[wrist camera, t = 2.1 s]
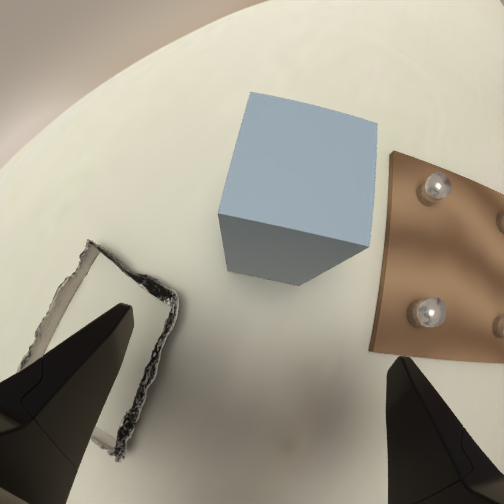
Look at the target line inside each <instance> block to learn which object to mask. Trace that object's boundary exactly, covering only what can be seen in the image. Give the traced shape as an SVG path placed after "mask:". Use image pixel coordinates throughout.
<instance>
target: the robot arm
mask: <svg viewBox="0 0 504 504" xmlns="http://www.w3.org/2000/svg"><path fill="white" fill-rule="evenodd" d="M133 328H134V318H133V309H132V306H130V305H128V304H124V303H119V304H117V305H116V306H114V307H113V308H111V309H110V310H108V311H107V312H105V313H104V314H102V315H101V316H99V317H98V318H97V319H95V320H94V321H92V322H91V323H89V324H88V325H86V326H85V327H83V328H82V329H80V330H79V331H78V332H76V333H75V334H73V335H72V336H70V337H69V338H67V339H66V340H65V341H63V342H62V343H60V344H59V345H57V346H56V347H55V348H53V349H52V350H50V351H49V352H47V353H46V354H45V355H43V357H40V358H39V359H37V360H36V361H35V362H33V363H32V364H30V365H29V366H27V367H26V368H24V369H23V370H21V371H19V372H18V373H16V374H14V375H13V376H11V377H9V378H7V379H6V380H4V381H2V382H0V504H66V501H67V499H68V496H69V493H70V490H71V487H72V485H73V482H74V479H75V477H76V474H77V471H78V468H79V466H80V463H81V460H82V458H83V455H84V453H85V450H86V448H87V445H88V443H89V440H90V438H91V435H92V433H93V430H94V428H95V426H96V423H97V421H98V418H99V416H100V414H101V411H102V409H103V407H104V404H105V402H106V400H107V397H108V395H109V393H110V390H111V388H112V386H113V384H114V381H115V379H116V377H117V375H118V373H119V370H120V368H121V365H122V362H123V359H124V356H125V352H126V349H127V346H128V343H129V340H130V337H131V334H132V331H133ZM386 427H387V448H388V504H504V474H502V473H501V472H500V471H499V470H498V469H497V467H496V466H495V465H494V464H493V463H492V462H491V460H490V459H489V458H488V457H487V456H486V455H485V453H484V452H483V451H482V450H481V449H480V447H479V446H478V445H477V444H476V443H475V441H474V440H473V439H472V437H471V436H470V435H469V433H468V432H467V431H466V429H465V428H464V427H463V425H462V424H461V423H460V421H459V420H458V419H457V417H456V416H455V415H454V413H453V412H452V411H451V409H450V408H449V407H448V405H447V404H446V403H445V401H444V400H443V399H442V397H441V396H440V395H439V394H438V392H437V391H436V390H435V388H434V387H433V386H432V384H431V383H430V382H429V381H428V379H427V378H426V377H425V376H424V374H423V373H422V372H421V370H420V369H419V368H418V367H417V365H416V364H415V363H414V362H413V360H412V359H411V358H410V357H405V356H399V357H398V358H397V359H396V360H395V362H394V363H393V364H392V366H391V367H390V368H389V370H388V372H387V387H386Z"/></svg>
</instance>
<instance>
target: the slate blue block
mask: <svg viewBox="0 0 504 504" xmlns="http://www.w3.org/2000/svg"><path fill="white" fill-rule="evenodd" d="M376 158H377V123H375V122H371V121H368V120H365V119H362V118H359V117H355V116H352V115H348V114H345V113H341V112H338V111H334V110H330V109H327V108H323V107H319V106H315V105H311V104H307V103H302V102H298V101H294V100H289V99H285V98H280V97H275V96H270V95H265V94H260V93H254V92H250V95H249V99H248V102H247V106H246V109H245V113H244V116H243V120H242V124H241V127H240V131H239V134H238V138H237V142H236V145H235V149H234V153H233V156H232V160H231V164H230V168H229V172H228V175H227V179H226V183H225V187H224V191H223V195H222V199H221V203H220V207H219V211H218V217H219V223H220V229H221V235H222V241H223V247H224V252H225V258H226V264H227V269H228V271H231V272H235V273H240V274H245V275H249V276H254V277H259V278H264V279H268V280H273V281H278V282H283V283H288V284H293V285H298V286H299V285H301V284H303V283H305V282H307V281H309V280H311V279H312V278H314V277H316V276H318V275H320V274H322V273H323V272H325V271H327V270H329V269H331V268H333V267H334V266H336V265H338V264H340V263H342V262H343V261H345V260H347V259H349V258H351V257H352V256H354V255H356V254H358V253H359V252H361V251H363V250H365V249H366V248H368V247H370V238H371V228H372V218H373V206H374V193H375V178H376Z"/></svg>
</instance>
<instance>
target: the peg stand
mask: <svg viewBox="0 0 504 504" xmlns="http://www.w3.org/2000/svg"><path fill="white" fill-rule="evenodd" d="M369 351H372V352H379V353H387V354H395V355H404V356H413V357H423V358H434V359H445V360H457V361H471V362H488V363H504V195H503V194H501V193H499V192H497V191H495V190H492V189H490V188H488V187H486V186H484V185H481V184H479V183H477V182H475V181H472V180H470V179H468V178H465V177H463V176H461V175H458V174H456V173H453V172H451V171H448V170H446V169H443V168H441V167H438V166H436V165H433V164H430V163H428V162H425V161H422V160H419V159H417V158H414V157H411V156H408V155H405V154H402V153H399V152H397V151H393V152H392V153H391V154H390V165H389V191H388V208H387V222H386V234H385V245H384V254H383V263H382V272H381V280H380V287H379V294H378V301H377V307H376V314H375V320H374V326H373V331H372V337H371V342H370V347H369Z"/></svg>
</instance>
